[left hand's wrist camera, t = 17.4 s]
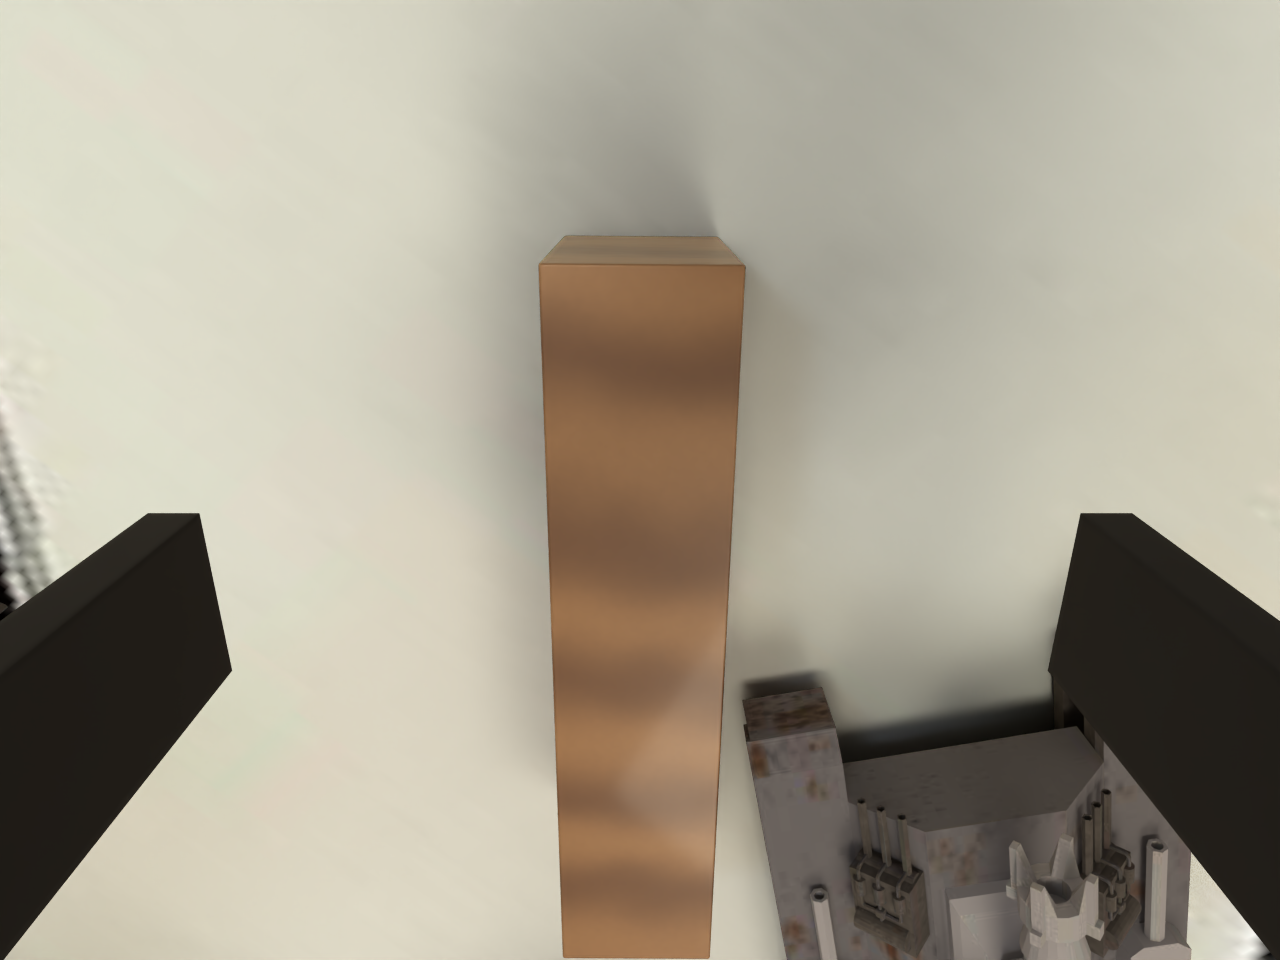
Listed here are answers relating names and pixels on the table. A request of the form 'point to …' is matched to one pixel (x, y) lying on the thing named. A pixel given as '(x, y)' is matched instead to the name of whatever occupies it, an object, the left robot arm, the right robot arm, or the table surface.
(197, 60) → the table surface
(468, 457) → the table surface
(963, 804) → the toy
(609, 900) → the box
